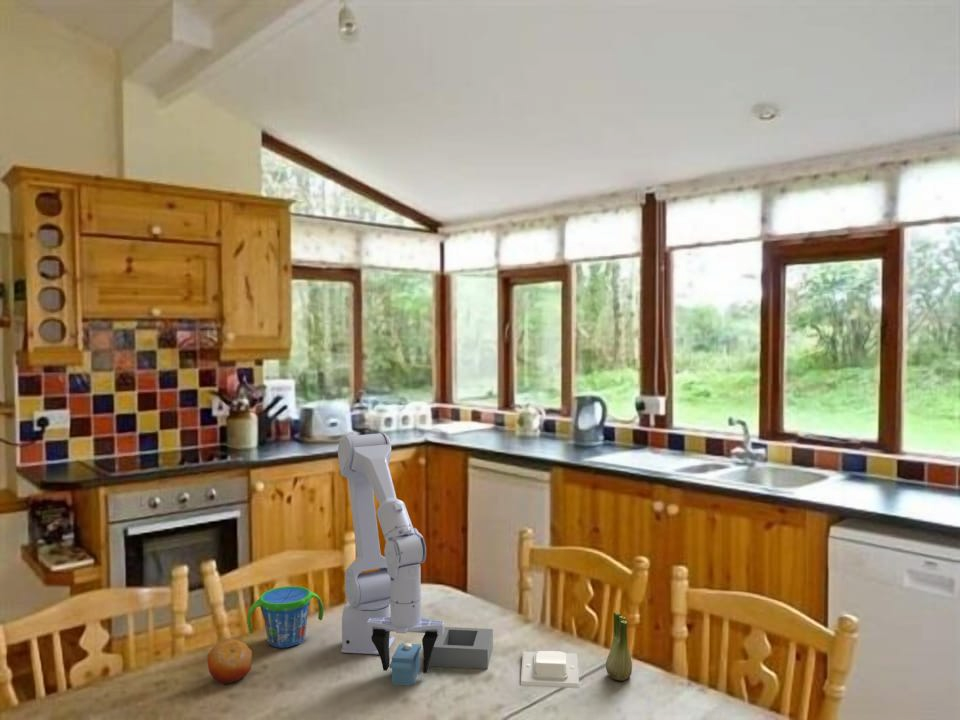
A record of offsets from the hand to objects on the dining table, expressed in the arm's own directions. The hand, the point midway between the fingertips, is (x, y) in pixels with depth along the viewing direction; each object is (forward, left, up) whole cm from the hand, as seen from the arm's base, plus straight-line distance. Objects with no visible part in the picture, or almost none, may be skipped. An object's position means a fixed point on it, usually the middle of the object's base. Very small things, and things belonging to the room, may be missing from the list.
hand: (406, 669), depth 140 cm
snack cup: (-29, +13, -2) cm, 31 cm away
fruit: (-33, -4, -2) cm, 33 cm away
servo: (0, 0, -2) cm, 2 cm away
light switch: (+27, +6, -2) cm, 28 cm away
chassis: (+9, +10, -1) cm, 14 cm away
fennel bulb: (+40, +5, -2) cm, 40 cm away
